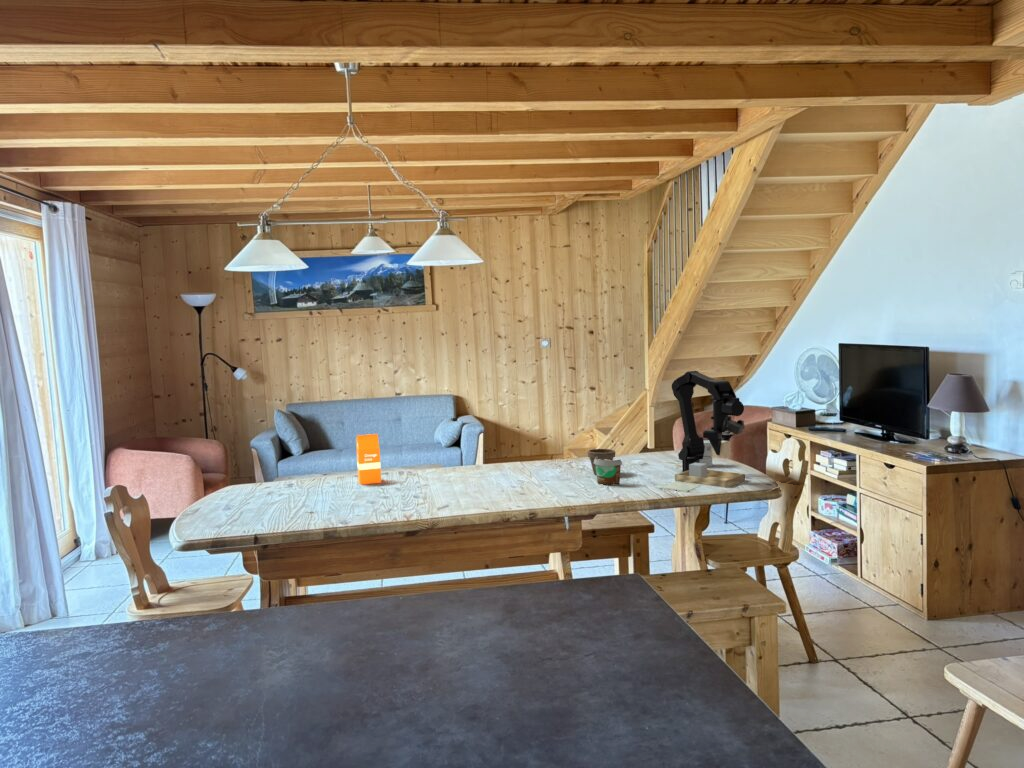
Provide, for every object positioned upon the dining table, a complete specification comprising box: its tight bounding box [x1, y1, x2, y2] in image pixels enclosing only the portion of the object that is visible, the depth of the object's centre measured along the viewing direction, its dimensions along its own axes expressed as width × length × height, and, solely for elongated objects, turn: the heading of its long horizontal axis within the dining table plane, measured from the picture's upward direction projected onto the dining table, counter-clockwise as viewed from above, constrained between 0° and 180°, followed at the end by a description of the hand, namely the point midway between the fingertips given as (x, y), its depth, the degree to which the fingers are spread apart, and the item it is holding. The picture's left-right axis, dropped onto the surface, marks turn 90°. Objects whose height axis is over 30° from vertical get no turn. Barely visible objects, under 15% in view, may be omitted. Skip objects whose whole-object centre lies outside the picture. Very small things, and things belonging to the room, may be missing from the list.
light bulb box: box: [700, 439, 713, 468], centre depth 328 cm, size 11×7×11 cm, turn 84°
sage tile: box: [660, 481, 702, 493], centre depth 288 cm, size 11×11×1 cm
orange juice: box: [356, 433, 382, 485], centre depth 319 cm, size 8×9×20 cm
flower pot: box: [587, 448, 616, 476], centre depth 318 cm, size 12×11×10 cm
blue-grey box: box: [689, 463, 708, 478], centre depth 299 cm, size 5×5×6 cm
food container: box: [594, 457, 623, 486], centre depth 298 cm, size 12×6×10 cm, turn 47°
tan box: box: [712, 440, 732, 460], centre depth 292 cm, size 5×5×6 cm
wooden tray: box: [674, 469, 746, 489], centre depth 296 cm, size 22×16×3 cm
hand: (721, 454), depth 292 cm, fingers closed on tan box, 5 cm apart
